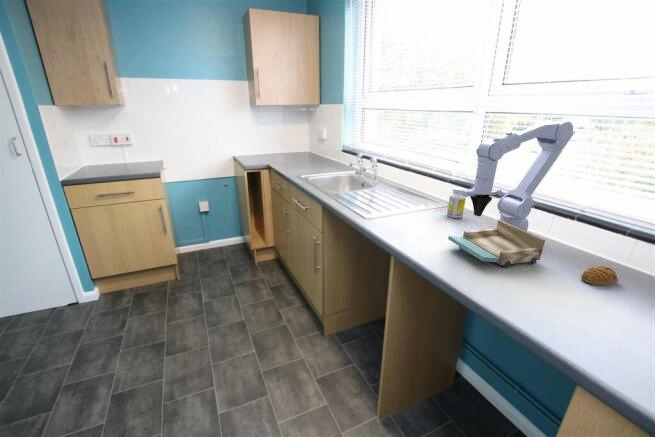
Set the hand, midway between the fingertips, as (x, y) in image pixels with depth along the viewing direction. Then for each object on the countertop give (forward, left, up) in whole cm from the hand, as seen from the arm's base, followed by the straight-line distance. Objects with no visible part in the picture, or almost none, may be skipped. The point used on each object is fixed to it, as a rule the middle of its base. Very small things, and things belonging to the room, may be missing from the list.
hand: (477, 215), depth 111 cm
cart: (-2, +10, -10) cm, 15 cm away
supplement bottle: (-12, -27, -11) cm, 31 cm away
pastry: (-18, +31, -11) cm, 38 cm away
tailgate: (+6, +10, -7) cm, 14 cm away
